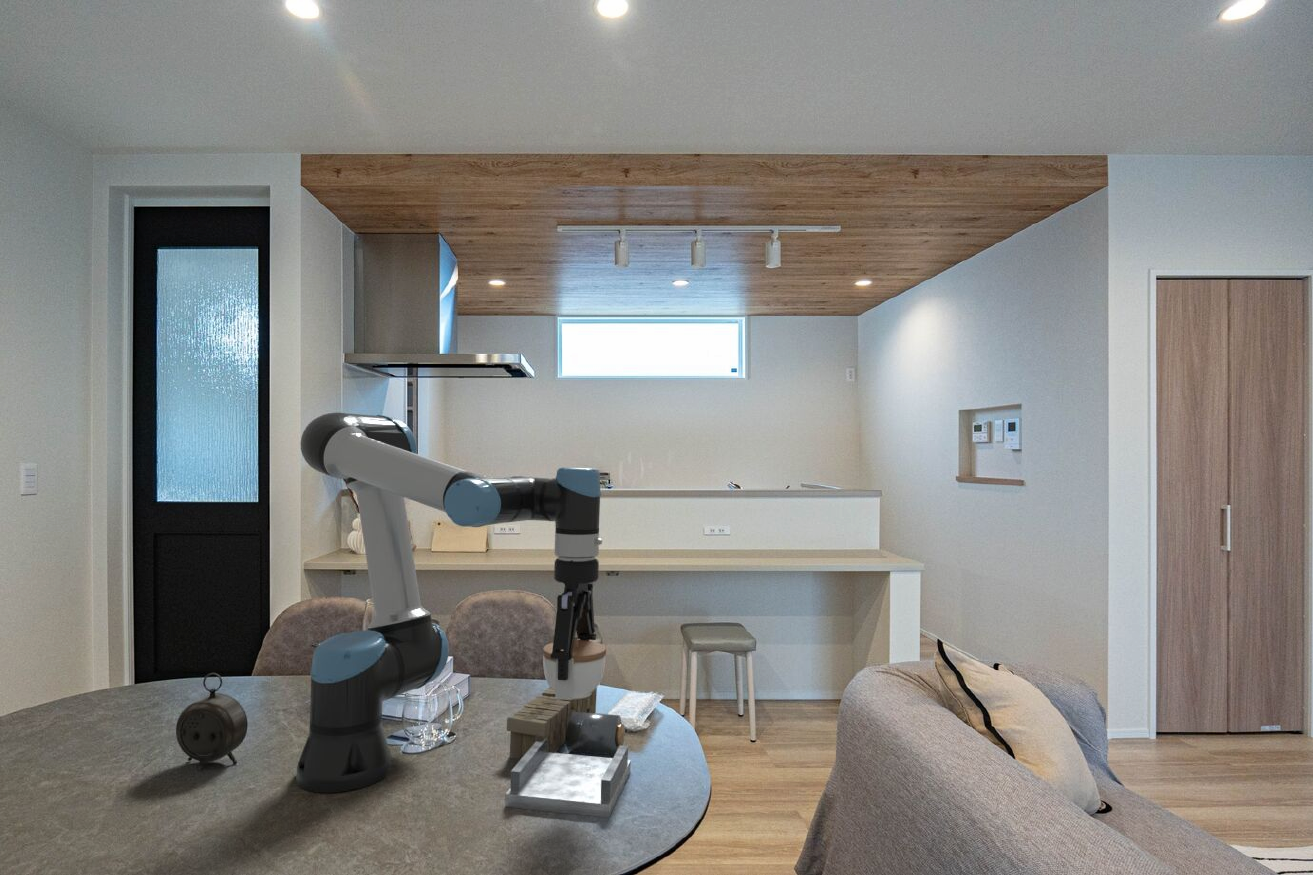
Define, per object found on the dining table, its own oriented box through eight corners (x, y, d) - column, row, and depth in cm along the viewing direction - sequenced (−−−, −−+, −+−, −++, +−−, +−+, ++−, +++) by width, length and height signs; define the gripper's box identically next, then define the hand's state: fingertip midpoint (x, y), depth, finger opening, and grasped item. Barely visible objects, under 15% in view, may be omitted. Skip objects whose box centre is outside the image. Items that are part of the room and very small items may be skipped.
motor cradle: (505, 806, 115) (506, 762, 115) (556, 740, 142) (557, 704, 142) (608, 817, 112) (610, 772, 112) (641, 748, 139) (641, 711, 140)
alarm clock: (247, 760, 130) (251, 669, 130) (227, 773, 124) (231, 678, 125) (190, 757, 131) (194, 667, 131) (168, 770, 125) (172, 676, 126)
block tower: (563, 713, 161) (503, 761, 133) (565, 674, 161) (505, 714, 133) (597, 716, 159) (543, 766, 131) (598, 677, 159) (544, 718, 131)
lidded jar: (594, 706, 116) (596, 648, 116) (532, 700, 118) (533, 643, 118) (612, 686, 126) (613, 632, 127) (554, 681, 129) (555, 628, 129)
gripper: (579, 568, 111) (576, 713, 110) (613, 550, 134) (610, 669, 133) (533, 566, 112) (529, 709, 112) (574, 548, 135) (571, 667, 134)
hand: (573, 687), depth 122 cm, fingers closed on lidded jar, 11 cm apart
